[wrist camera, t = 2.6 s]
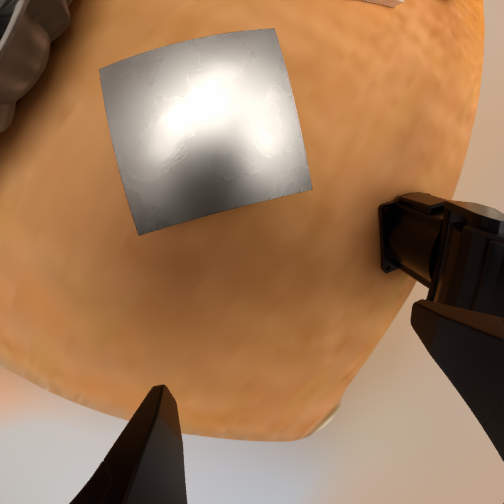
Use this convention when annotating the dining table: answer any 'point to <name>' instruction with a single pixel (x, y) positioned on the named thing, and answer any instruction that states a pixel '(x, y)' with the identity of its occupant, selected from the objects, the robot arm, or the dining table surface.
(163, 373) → the dining table surface
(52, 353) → the dining table surface
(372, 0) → the white tray
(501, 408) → the robot arm
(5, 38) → the bundt pan
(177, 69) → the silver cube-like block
